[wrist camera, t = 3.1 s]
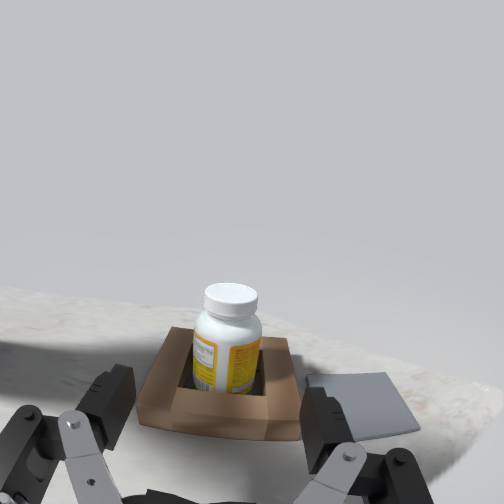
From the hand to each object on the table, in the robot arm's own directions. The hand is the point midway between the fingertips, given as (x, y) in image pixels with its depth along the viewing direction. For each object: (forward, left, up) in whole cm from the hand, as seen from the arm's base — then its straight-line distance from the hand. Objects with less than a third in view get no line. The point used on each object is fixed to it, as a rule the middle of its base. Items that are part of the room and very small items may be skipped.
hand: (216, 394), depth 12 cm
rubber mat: (+12, +8, -9) cm, 17 cm away
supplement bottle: (0, +10, -9) cm, 13 cm away
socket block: (0, +10, -9) cm, 13 cm away
